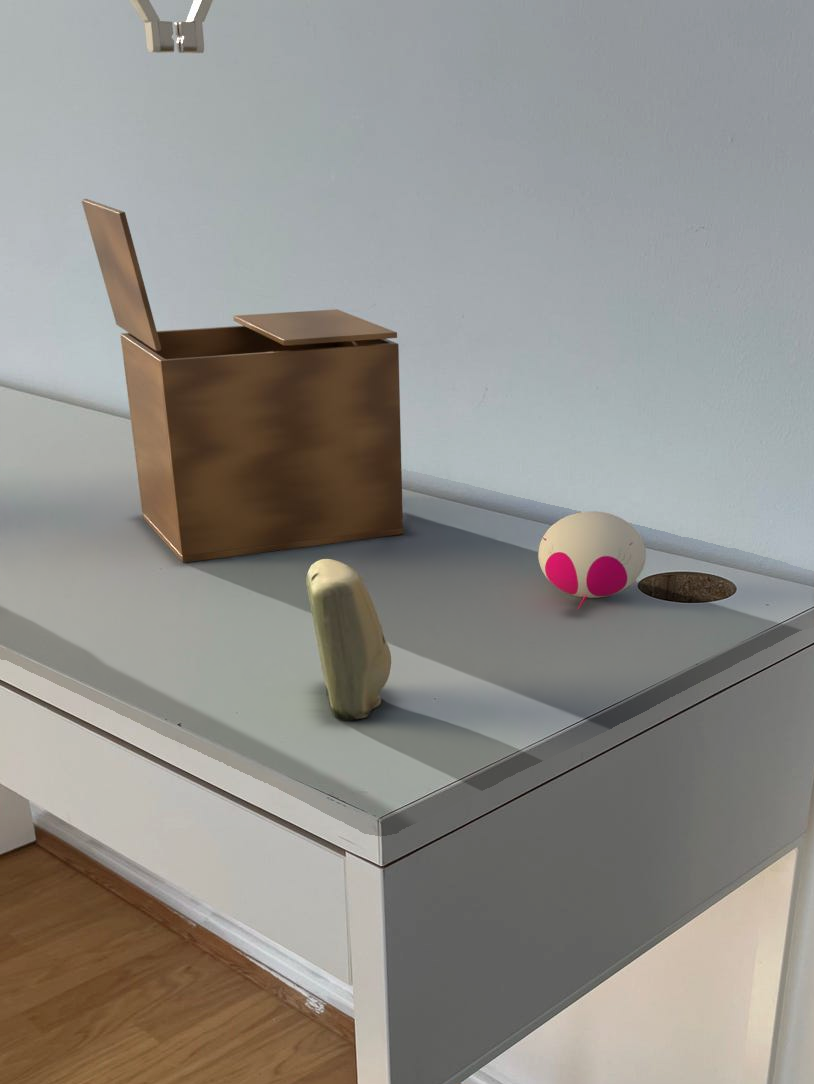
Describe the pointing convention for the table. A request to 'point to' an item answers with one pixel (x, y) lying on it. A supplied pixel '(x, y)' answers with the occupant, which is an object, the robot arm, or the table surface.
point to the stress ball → (592, 554)
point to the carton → (267, 433)
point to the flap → (121, 271)
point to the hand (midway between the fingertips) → (176, 53)
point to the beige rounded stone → (347, 639)
